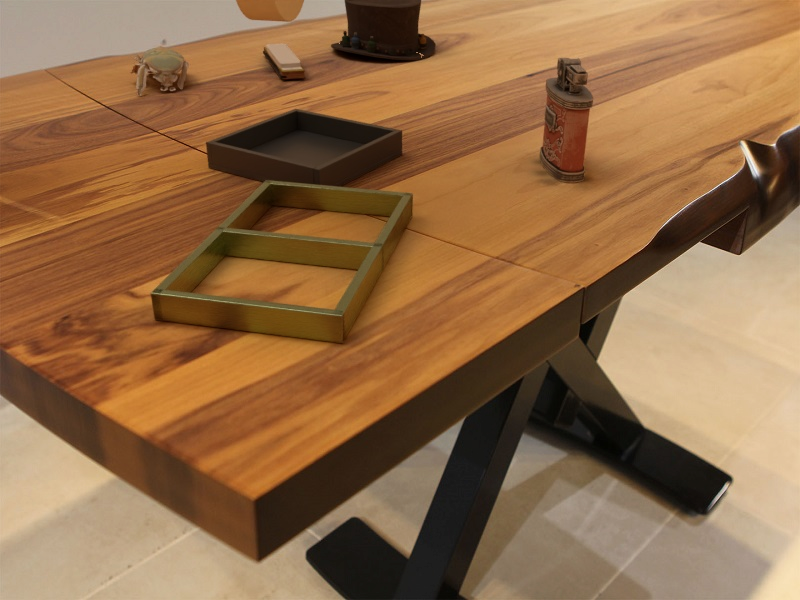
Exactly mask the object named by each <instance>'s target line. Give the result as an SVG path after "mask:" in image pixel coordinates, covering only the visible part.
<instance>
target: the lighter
mask: <svg viewBox="0 0 800 600" xmlns="http://www.w3.org/2000/svg"><path fill="white" fill-rule="evenodd" d="M556 64H557V65H556V70H557V72H556V73H557V74H556V75H557V76H556V77H549V78H547V79H546V80H545V91H546V103H545V109H544V125H543V136H542V146H540V149H539V161H540V163H541V166H542V168H543V169H544V170H545V171H546V172H547V173H548V174H549V175H550V176H551V177H553V178H554V179H555V180H557V181H558V182H563V183H580V182H583V181H584V180H585V175H586V167H585V165H584V163H585V155H586V146H587V138H588V137H587V136H588V127H589V119H590V110H591V109H592V108H593V105H594V96H593V94H592V92H591V91H590V90H589V89H588V88H587V87H586V86H588V78H589V77H588V76H589V72H588V71H587V69H585V68H584V67H583V66H582V61H581V59H580V58H570V57H558V58H557V63H556Z"/></svg>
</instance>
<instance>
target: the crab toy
mask: <svg viewBox="0 0 800 600" xmlns="http://www.w3.org/2000/svg"><path fill="white" fill-rule="evenodd" d="M133 61H137V62H136V63H135V64H134V65H133V66H132V69H131V71H130V72H129V73H130V74H131V75H133V74H135V75H136V83H135V84H136V86H135V90H136V91H137V92H136V96H140V97H143V92H144V91H145V90H146V87H147V75H148V74H155V75H153V76H152V78H153V79H155V80H156V81H157V82H159V84H160V86H161V87H160V88H159V89H160V91H162V92H165V91H170V92H174V91H176V87H174V86H173V83H175V82H176V81H177V85H176V86H177V87H178V88H179V89H180V90H183V89H184V83H185V81H186V77H187V72H188V69H189V66H191V64H190V63H189V62H187V59H186V58H185V57H184V56H183V55H182V54H180V53H179V52H178V51H175V50H173V49H170V48H168V47H164V46H162V45H158V46H156V47H153V48H149V49H147V50H145V51H144V53H143V54H142V56H141V57H140V56H139V55H135V57H134V58H133ZM179 72H180V74H179V76H178V73H179ZM178 77H179V78H178Z"/></svg>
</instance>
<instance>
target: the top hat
mask: <svg viewBox="0 0 800 600" xmlns="http://www.w3.org/2000/svg"><path fill="white" fill-rule="evenodd" d="M421 6H422V0H344V7H345V15H346V20H347V30H343V32H342V34H343V35H342V36H341V40H340V41H339V42H335V43H332V44H330V48H332V49H334V50H338V51H342V52H346V53H350V54H356V55H360V56H361V55H362V56H367V57H373V58H381V59H388V60H397V61H419V60H420V61H421V60H424V59H427V58H429V57H431V56H432V55H433V54H434V53H435V51H436V43H435V40H434V39H432V38H431V37H430V36H427V35H426V34H424V33H419V22H420V21H419V20H420V13H421ZM339 43H340V44H339ZM416 52H418V53H416ZM419 53H421V54H423V55H424V56H422V58H421V55H420V54H419Z"/></svg>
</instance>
